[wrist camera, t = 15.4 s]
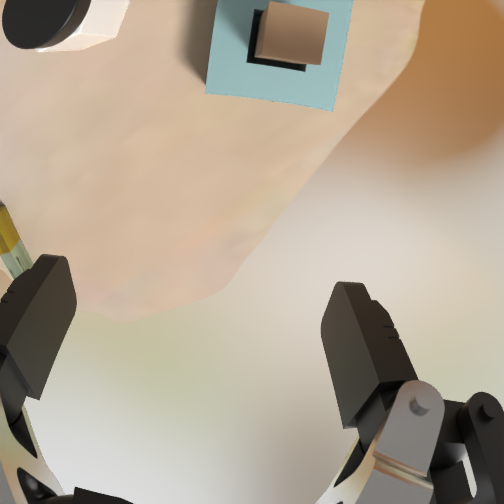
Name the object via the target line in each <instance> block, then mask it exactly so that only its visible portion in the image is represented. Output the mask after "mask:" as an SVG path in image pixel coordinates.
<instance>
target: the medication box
mask: <svg viewBox="0 0 504 504" xmlns="http://www.w3.org/2000/svg"><path fill="white" fill-rule="evenodd" d="M0 256H1V258H2V260H3V261H4V263H5V265H6V267H7V268H8V270H9V272H10V274H11V275H12V277H13V279H15V278H16V277H18V276H19V275H20V274H21V273H23V272H24V271H25V270H27V269H31V268H32V266H33V265H34V264H33V262H32V260H31V258H30V256H29V255H28V253H27V251H26V249H25V247H24V245H23V243H22V241H21V239H20V237H19V235H18V233H17V231H16V229H15V227H14V225H13V222H12V220H11V218H10V216H9V214H8V211H7V209H6V207H5V206H2V207H0Z"/></svg>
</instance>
